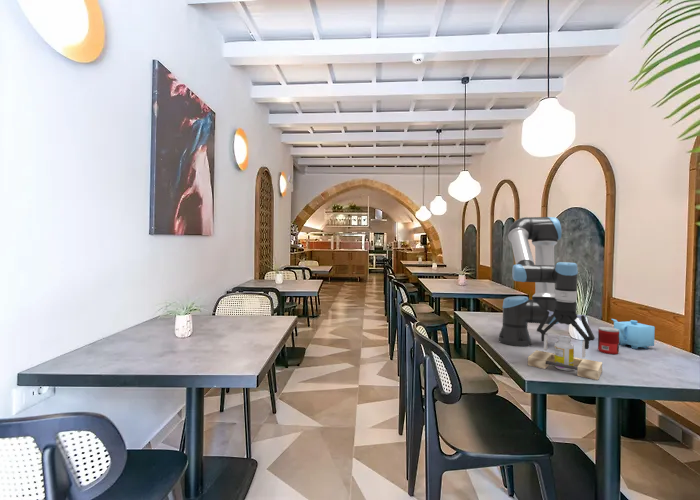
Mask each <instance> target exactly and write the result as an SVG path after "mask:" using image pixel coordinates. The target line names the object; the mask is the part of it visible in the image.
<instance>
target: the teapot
mask: <svg viewBox="0 0 700 500" xmlns="http://www.w3.org/2000/svg"><path fill="white" fill-rule="evenodd" d="M611 321H612V322H613V328H615V329H618V330H619V346H624V347H625V346H626V345H629V346H631V347H630V348H631V349H633V350H638V349H639V348H642V349H649V347H654V346H655V331H656V327H655V326H654V325H650V324H649V325H648V324H645V323H641V322H638V320H636V319H635V320H633V319H631V320H629V321H618V320H617V319H615V318H611Z"/></svg>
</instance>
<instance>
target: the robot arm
mask: <svg viewBox="0 0 700 500" xmlns="http://www.w3.org/2000/svg"><path fill="white" fill-rule="evenodd" d="M562 232H563V231H562V225H561V222H560V220H559V219H558V218H557V217H555V216H537V217H536V216H535V217H534V216H533V217H532V216H529V217H528V216H526V217H520V218H518V219H517V220H515V221H513V222H512V223H511V225H509V227H508V229H507V238H508V241H509V242H510V243H511V248H512V252H513V257H514V258H513V259H514V262H515V264H513V266H512V267H511V268H512V273H511V274H512V280H513V281H514V282H521V283H535V286H534V287H535V291H534V292H535V293H534V294H533V295H532V297H531V298H532V299H529V296H524V295H516V296H514V295H513V296H507V297H505V298H504V299H503V301H502V326H501V330H500V332H499V334H498V342H499V341H500V343H501V344H504V345H509V346H513V347H514V346H515V347H528V346H531V345H532V338H531V335H530V332H529V329H528V327H529V326H528V324H539V325H538V327H537V328H536V332H537V333H540V334H541V338H540V339H541V342H542V343H543V351H544V352H547V350H548V337H549V336H548V335H549V334H548V333H547V332H548V331H549V330H550V329H552V327H554V326H555V325H557V324H561V325H562V324H565V325H571V326H572V327H573V328H574V329H575V330H576V331H577V332H578V334H580V336H581V337H582V339H583V340H582V343H581V344H582V345H581V349H582V350H581V352H582V353H581V358H582V359H585V357H586V350H589V348H590V341H591V342H592V341H594V340H595V338H596V337H595V335H594V333H593V331H592V329H591V328H590V325H589V324H588V321H587V317H586V314H578V313H577V297H578V295H577V294H578V273H579V270H578V264H577V263H576V262H568V261H559V262H557V263H556V264H555V246H556V245H557V244H558V241H560V240H561V239H562V234H563V233H562ZM529 240H531V244H532V245H533V246H534V258H533V254H532V251H531V246H530V243H529ZM534 260H535V261H534ZM577 319H579V321H581V323H582V325H583V327H584V330H585V331H586V332H585V331H584V330H583V329H582V327H581V326H580V325H579V324H578V322H577V321H576V320H577ZM545 325H547V326H546V327H545V328H544V326H545ZM586 333H587V334H586Z"/></svg>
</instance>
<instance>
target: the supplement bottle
mask: <svg viewBox="0 0 700 500" xmlns="http://www.w3.org/2000/svg"><path fill="white" fill-rule="evenodd" d="M571 341H572V337H571V336H567V335H561V334H560V335H557V341H556V342H555V343H554V354H555V363H560V364H565V365H570V366H574V357H575V350H574V349H575V347H574V344H573V343H571ZM554 367H555V368H556V369H558V370H560V371H565V372H567V371H569V372H570V371H573V370H574V369H569V368H564V367H559V366H554Z"/></svg>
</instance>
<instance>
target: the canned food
mask: <svg viewBox="0 0 700 500" xmlns="http://www.w3.org/2000/svg"><path fill="white" fill-rule="evenodd" d="M597 335H598V336H597V350H598V352H599V353H602V354H607V355H618V354H619V352H620V351H619V350H620V345H619V344H620V342H619V330H618V329H615V328H614V327H610V326H609V327H607V326H599V327H598V331H597Z"/></svg>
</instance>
